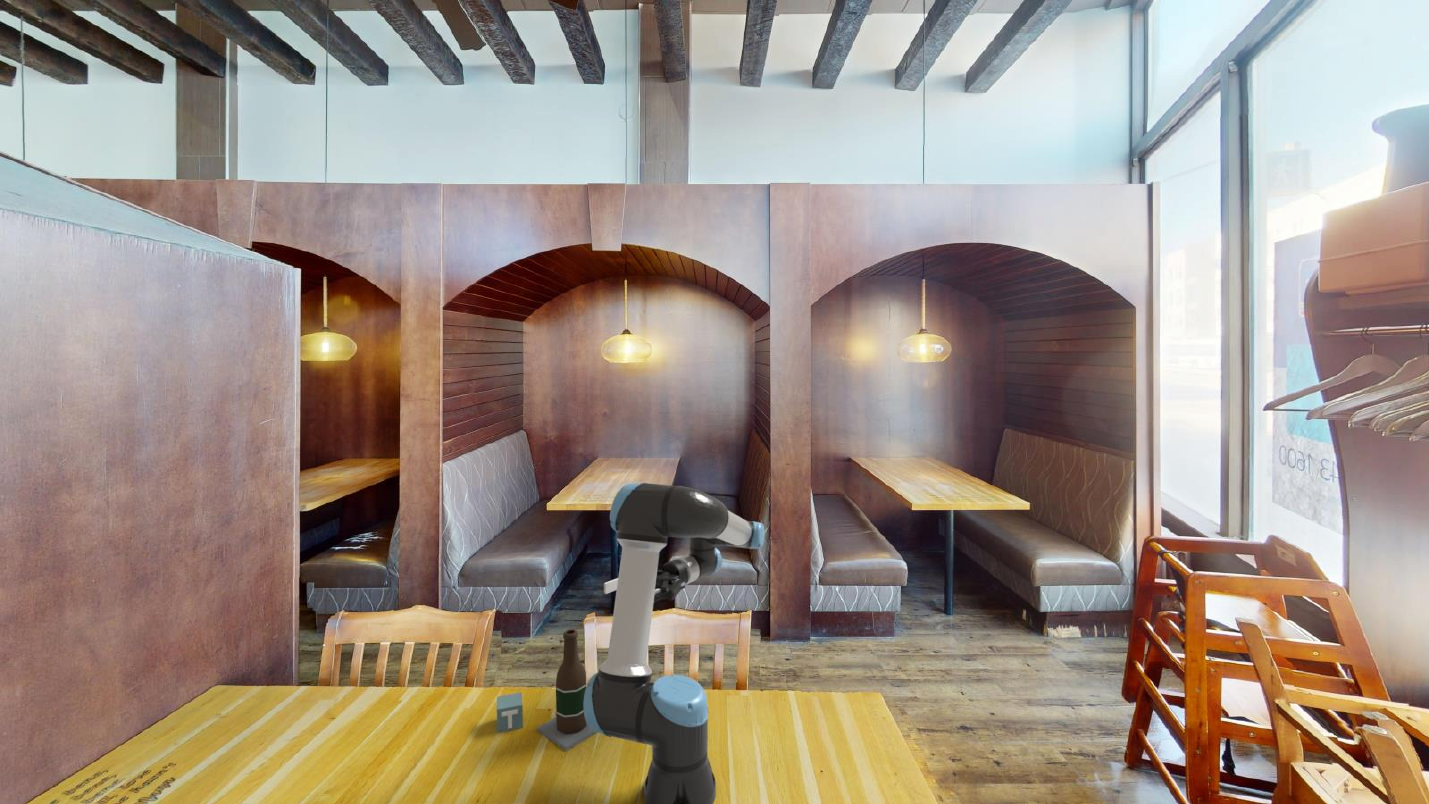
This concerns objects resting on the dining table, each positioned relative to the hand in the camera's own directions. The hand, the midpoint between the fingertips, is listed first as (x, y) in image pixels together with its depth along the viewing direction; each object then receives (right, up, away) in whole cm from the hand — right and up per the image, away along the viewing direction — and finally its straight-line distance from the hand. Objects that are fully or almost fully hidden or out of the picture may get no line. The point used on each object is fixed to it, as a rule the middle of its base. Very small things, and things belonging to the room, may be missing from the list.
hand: (622, 595), depth 150 cm
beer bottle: (-12, -32, -3) cm, 34 cm away
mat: (-12, -32, -3) cm, 35 cm away
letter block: (-28, -32, -1) cm, 43 cm away
